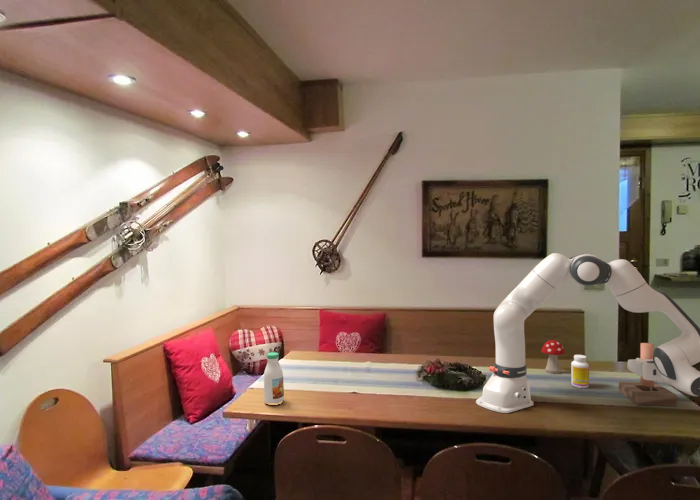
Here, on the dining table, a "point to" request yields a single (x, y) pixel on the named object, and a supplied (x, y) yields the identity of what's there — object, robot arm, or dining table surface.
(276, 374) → the milk bottle
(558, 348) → the decorative mushroom
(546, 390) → the dining table surface
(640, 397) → the socket
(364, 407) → the dining table surface
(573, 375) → the supplement bottle
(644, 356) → the peg
